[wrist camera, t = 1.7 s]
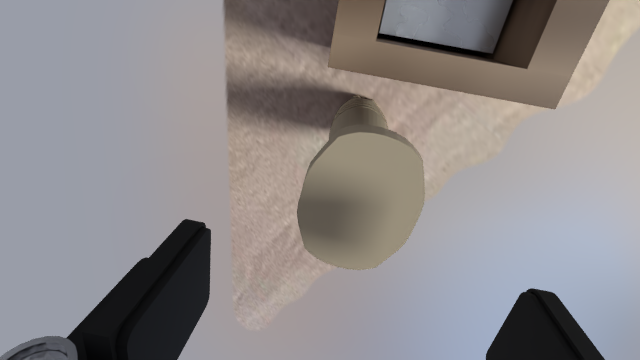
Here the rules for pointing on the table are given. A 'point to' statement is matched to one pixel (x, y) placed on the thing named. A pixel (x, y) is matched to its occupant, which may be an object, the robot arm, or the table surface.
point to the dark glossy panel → (447, 21)
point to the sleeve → (470, 65)
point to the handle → (360, 190)
